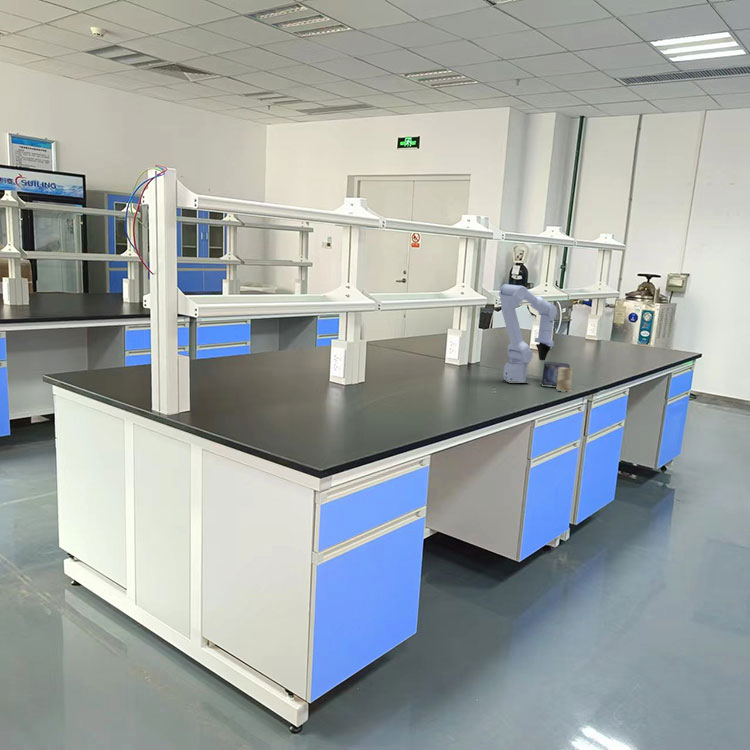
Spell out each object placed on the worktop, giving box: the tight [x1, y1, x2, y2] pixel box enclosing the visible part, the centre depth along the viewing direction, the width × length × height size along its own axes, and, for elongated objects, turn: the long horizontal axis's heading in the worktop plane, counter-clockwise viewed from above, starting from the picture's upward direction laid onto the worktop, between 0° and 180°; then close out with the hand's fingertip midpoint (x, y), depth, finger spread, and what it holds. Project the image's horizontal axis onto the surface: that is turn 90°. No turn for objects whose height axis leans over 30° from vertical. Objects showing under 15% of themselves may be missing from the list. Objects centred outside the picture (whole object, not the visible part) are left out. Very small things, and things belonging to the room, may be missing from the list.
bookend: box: [555, 367, 574, 392], centre depth 274 cm, size 6×3×10 cm, turn 103°
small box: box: [541, 360, 571, 386], centre depth 283 cm, size 11×6×10 cm, turn 78°
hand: (542, 360), depth 296 cm, fingers closed
